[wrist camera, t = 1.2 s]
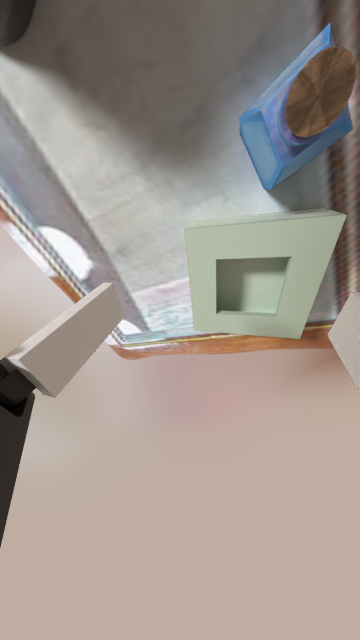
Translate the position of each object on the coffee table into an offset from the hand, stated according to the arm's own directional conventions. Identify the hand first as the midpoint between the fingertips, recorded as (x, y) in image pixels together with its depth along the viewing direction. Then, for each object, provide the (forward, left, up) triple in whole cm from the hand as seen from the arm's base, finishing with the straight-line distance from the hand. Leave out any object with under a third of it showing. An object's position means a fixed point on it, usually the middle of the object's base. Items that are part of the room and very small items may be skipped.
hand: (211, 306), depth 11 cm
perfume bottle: (-9, +5, -20) cm, 22 cm away
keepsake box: (+6, +3, -20) cm, 21 cm away
